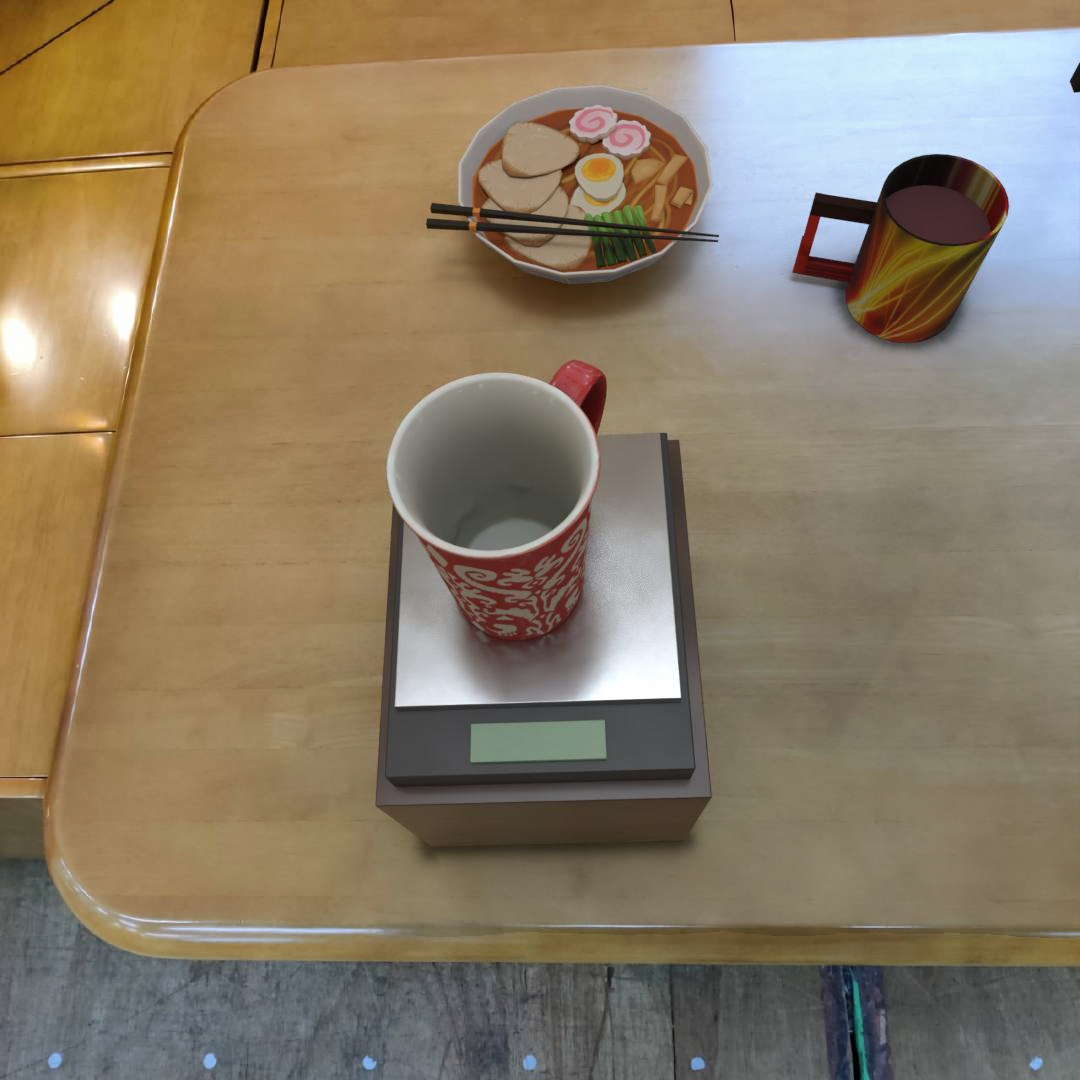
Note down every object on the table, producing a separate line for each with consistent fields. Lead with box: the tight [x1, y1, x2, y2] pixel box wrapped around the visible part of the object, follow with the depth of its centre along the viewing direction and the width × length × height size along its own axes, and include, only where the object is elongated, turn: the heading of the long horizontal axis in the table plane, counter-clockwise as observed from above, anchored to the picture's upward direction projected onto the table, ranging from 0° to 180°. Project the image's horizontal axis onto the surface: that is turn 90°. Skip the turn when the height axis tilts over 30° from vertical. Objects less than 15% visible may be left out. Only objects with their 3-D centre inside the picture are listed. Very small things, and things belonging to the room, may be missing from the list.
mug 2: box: [792, 153, 1010, 344], centre depth 78 cm, size 10×14×12 cm
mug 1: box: [385, 359, 608, 640], centre depth 46 cm, size 13×9×14 cm
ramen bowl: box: [425, 84, 720, 285], centre depth 85 cm, size 25×23×8 cm
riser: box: [374, 439, 713, 847], centre depth 62 cm, size 22×18×18 cm
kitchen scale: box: [385, 432, 696, 787], centre depth 53 cm, size 20×16×3 cm
